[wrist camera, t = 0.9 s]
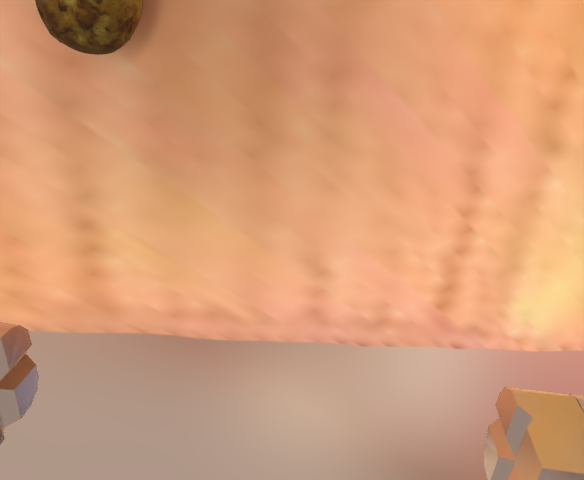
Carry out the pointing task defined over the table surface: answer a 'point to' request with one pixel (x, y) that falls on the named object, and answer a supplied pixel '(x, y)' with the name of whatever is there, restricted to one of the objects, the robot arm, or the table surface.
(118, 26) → the potato
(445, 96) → the table surface
